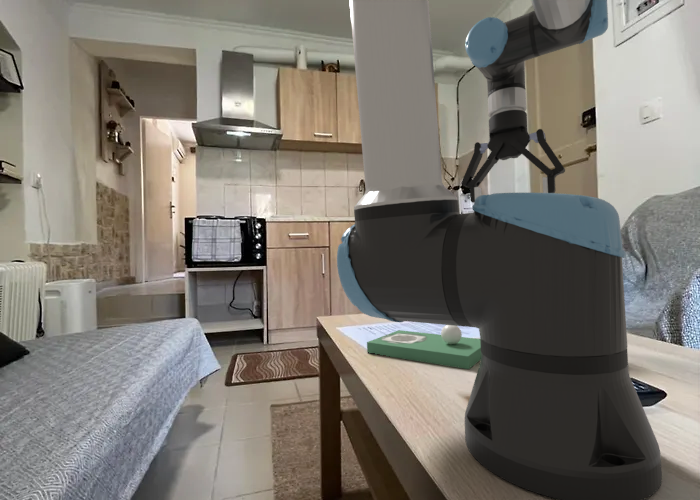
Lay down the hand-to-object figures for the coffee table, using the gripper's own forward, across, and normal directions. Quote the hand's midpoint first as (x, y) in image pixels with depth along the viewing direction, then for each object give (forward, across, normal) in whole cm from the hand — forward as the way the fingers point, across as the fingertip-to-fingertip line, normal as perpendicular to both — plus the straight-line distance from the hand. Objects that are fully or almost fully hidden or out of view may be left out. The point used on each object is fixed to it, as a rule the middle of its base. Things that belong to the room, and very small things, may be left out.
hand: (511, 213), depth 77 cm
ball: (+22, +6, +21) cm, 31 cm away
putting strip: (+26, +11, +21) cm, 35 cm away
